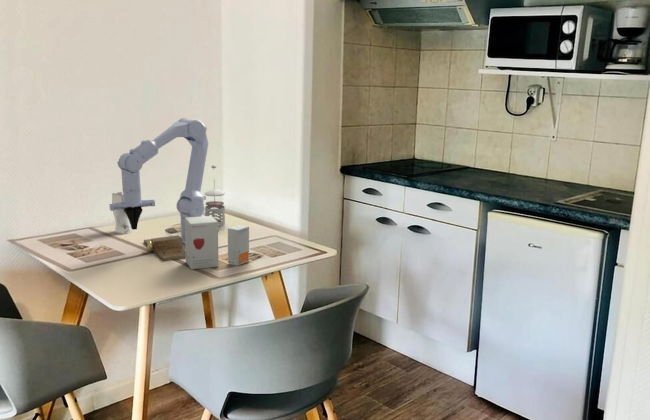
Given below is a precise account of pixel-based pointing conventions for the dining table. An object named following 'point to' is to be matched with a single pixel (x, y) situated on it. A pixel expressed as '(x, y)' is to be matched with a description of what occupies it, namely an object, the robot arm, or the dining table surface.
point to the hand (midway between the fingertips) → (134, 228)
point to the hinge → (168, 247)
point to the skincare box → (238, 245)
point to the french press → (215, 204)
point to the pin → (150, 246)
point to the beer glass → (120, 216)
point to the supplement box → (201, 242)
